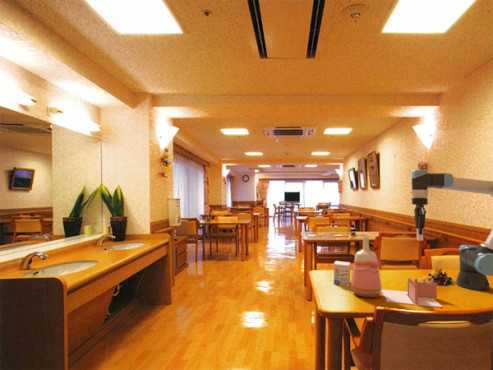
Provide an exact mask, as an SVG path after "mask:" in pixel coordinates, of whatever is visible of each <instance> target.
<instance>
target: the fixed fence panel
mask: <svg viewBox="0 0 493 370" xmlns="http://www.w3.org/2000/svg"><path fill="white" fill-rule="evenodd" d="M409 279H412V278H410V277H407V292H408V295H409ZM413 281H414V282H415V284H417V288H418V296H421V297H431V298H434V299H437V298H438V294H437V291H438V290H437V289H438V288H437V285H438V284H437V283H436V282H435V280H434V279H433V278H432V279H431V278H430V282H427V281H426V279H425V278H422V281H418V278H417V277H414V280H413Z"/></svg>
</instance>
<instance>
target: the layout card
mask: <svg viewBox="0 0 493 370" xmlns="http://www.w3.org/2000/svg"><path fill="white" fill-rule="evenodd" d="M381 294H382V295H383V297H384V299H385V300H386V303H395V304H405V305H412V306H413V305H415V306H420V307H421V306H422V307H433V308H440V307H442V308H443V306H442V305H441V303H439V302H438V301H437V299H436V298H431V297H421V296H418V304H416V303H414V301H413V300H412V299H411V298H410V297H409V295H408V291H405V290H404V291H403V290H401V291H400V290H393V289H392V290H390V289H382V292H381Z"/></svg>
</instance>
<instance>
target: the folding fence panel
mask: <svg viewBox="0 0 493 370" xmlns="http://www.w3.org/2000/svg"><path fill="white" fill-rule="evenodd" d="M409 297H410V298H411V299H412V300H413V301H414V303H416V304H418V288H417V284H415V282H414V280H413V279H412V278H411V279H409Z"/></svg>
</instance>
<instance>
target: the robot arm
mask: <svg viewBox="0 0 493 370" xmlns="http://www.w3.org/2000/svg"><path fill="white" fill-rule="evenodd" d="M431 188H433V189H439V190H440V189H442V190H449V191H457V192H458V191H459V192H467V193H475V194H482V195H490V197H493V180H483V179H482V180H481V179H474V178H473V179H472V178H465V177H463V178H462V177H454V175H453V174H452V173H447V172H443V173H441V172H437V173H436V172H434V173H433V172H432V173H431V172H430V173H429V172H428V169H414V170H412V172H411V191H410V193H411V197H412V198H411V204H412V205H415V207H414V209H413V212H414V223H415V225H414V226H415V227H416V241H420V242H421V241H422V242H423V241H424V229H425V225H426V214H427V211H426V208H425V206H427V205H428V204H429V203H428V202H429V200H428V196H429V195H428V193H429V192H428V191H429V190H428V189H431ZM458 253H459V257H458V258H459V261H458V262H459V271H458V275H457V276H456V279H455V284H456V285H457V286H458V285H459V287H460V288H465V289H468V290H473V291H474V290H475V291H490V290H491V285H490V282H489V280H488V277H493V228H492V229H491V230H490V233H489V234H488V236H487V238H486V240H485V241H484V242H483V243H479V244H478V245H468V244H461V245H459V251H458ZM489 289H490V290H489Z"/></svg>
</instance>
